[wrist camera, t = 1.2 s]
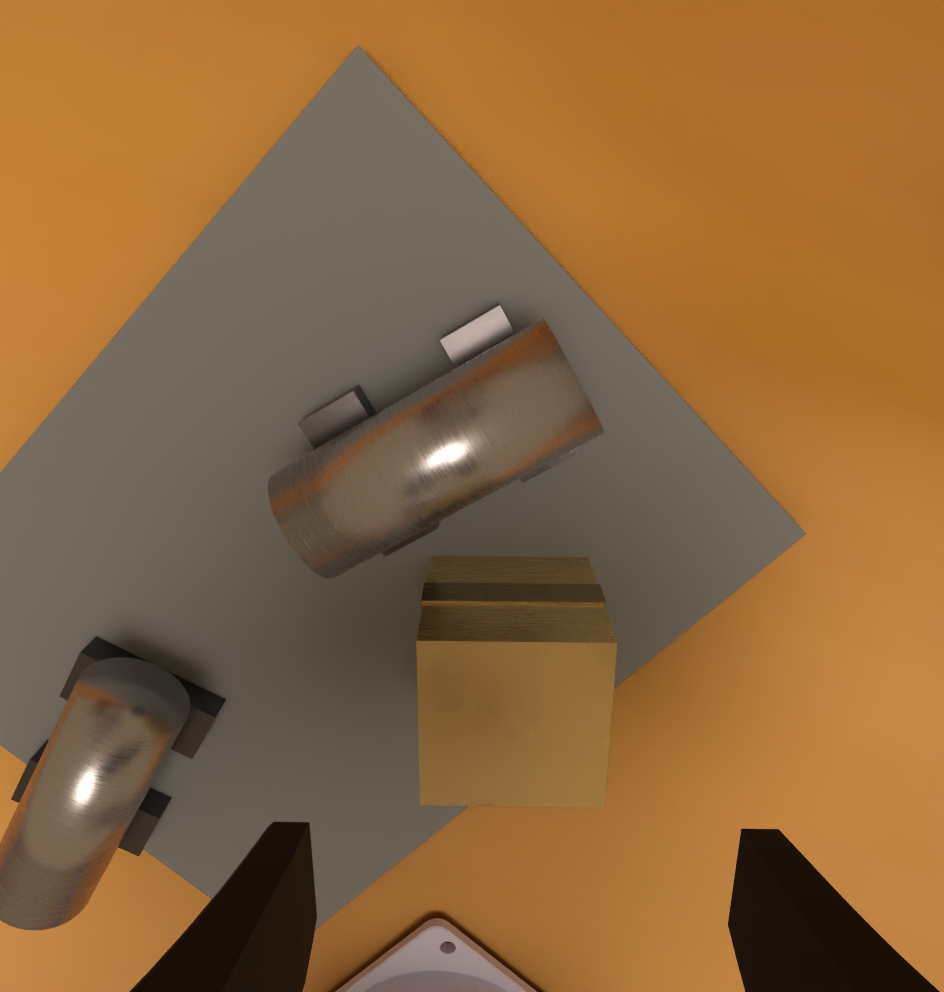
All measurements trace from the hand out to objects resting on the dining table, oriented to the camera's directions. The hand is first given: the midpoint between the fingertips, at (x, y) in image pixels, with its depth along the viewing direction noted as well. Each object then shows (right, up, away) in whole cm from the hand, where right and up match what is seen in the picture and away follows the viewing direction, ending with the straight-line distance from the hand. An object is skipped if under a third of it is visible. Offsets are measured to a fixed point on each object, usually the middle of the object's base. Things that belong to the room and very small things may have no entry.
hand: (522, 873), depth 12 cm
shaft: (-2, +8, +7) cm, 11 cm away
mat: (-5, +4, +9) cm, 11 cm away
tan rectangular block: (0, +3, +8) cm, 9 cm away
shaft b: (-11, -1, +10) cm, 15 cm away
